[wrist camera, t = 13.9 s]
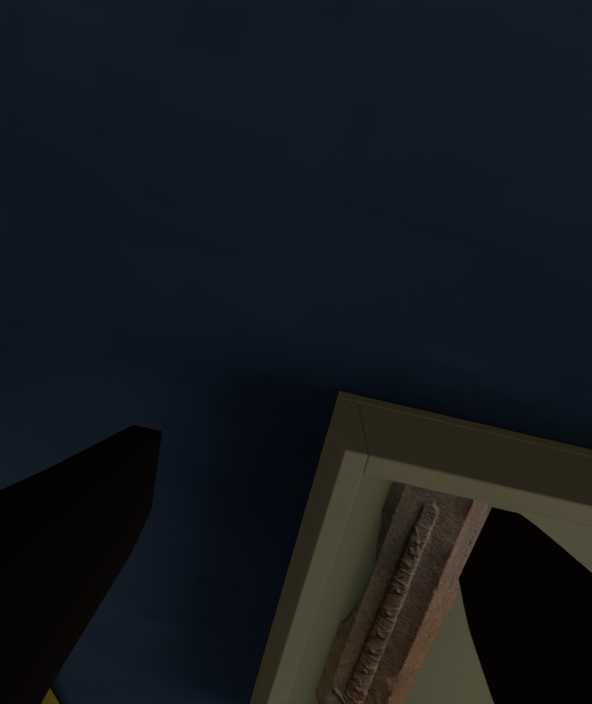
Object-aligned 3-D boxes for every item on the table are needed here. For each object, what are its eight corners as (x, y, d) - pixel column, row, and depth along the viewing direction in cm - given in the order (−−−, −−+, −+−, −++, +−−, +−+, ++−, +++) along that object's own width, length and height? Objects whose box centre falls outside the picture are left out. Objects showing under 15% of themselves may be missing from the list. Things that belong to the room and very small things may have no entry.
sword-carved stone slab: (397, 739, 24) (340, 782, 21) (360, 681, 26) (305, 713, 24) (527, 482, 18) (468, 501, 15) (463, 438, 20) (404, 449, 18)
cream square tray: (248, 705, 25) (232, 814, 21) (339, 390, 18) (344, 449, 14) (590, 780, 26) (647, 902, 21) (808, 499, 19) (965, 592, 14)
